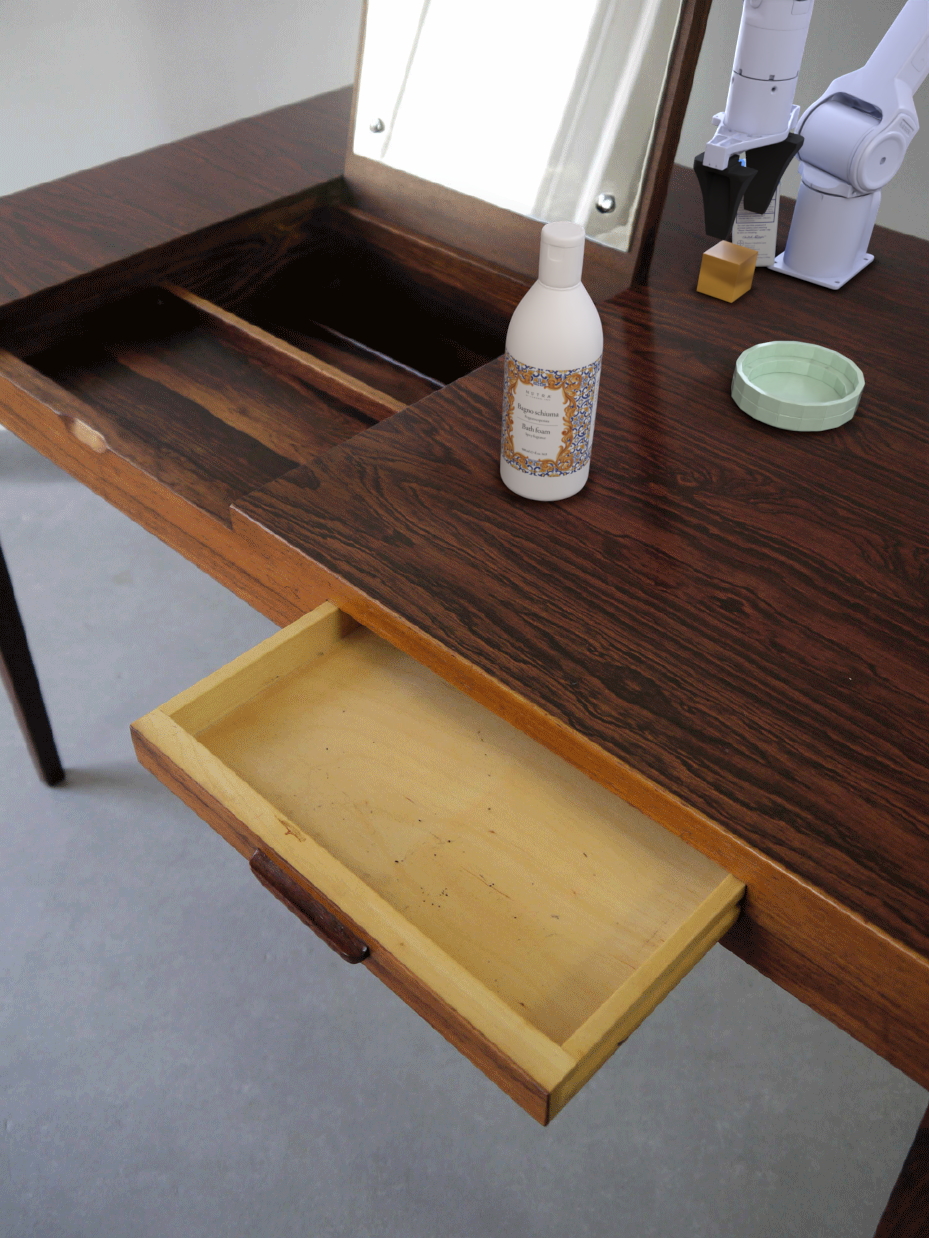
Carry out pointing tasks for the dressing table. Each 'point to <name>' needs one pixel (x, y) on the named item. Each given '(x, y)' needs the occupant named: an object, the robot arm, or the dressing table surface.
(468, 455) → the dressing table surface
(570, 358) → the bath foam
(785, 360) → the bowl
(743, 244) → the medicine box
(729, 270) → the block
